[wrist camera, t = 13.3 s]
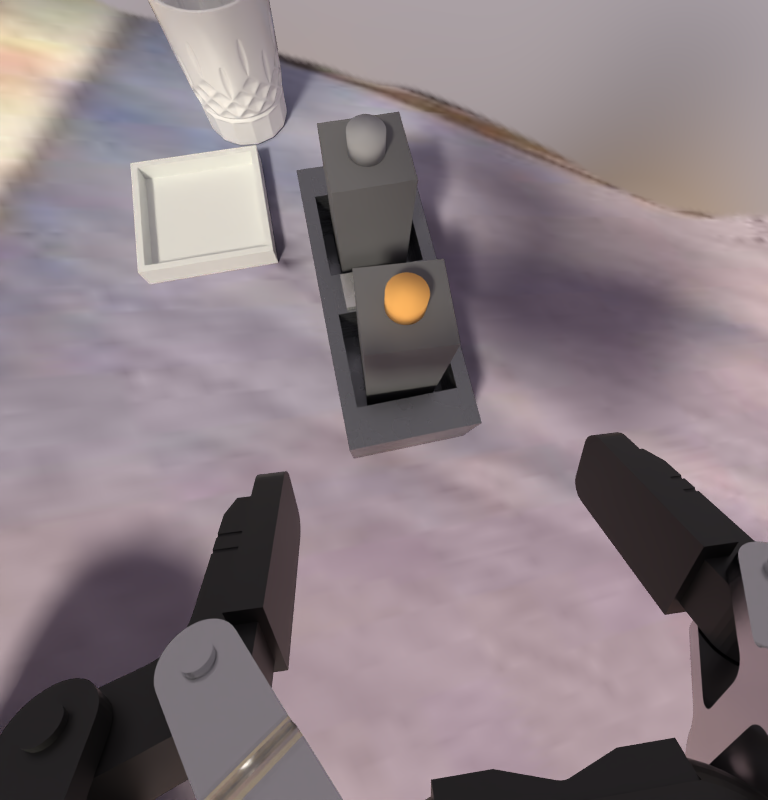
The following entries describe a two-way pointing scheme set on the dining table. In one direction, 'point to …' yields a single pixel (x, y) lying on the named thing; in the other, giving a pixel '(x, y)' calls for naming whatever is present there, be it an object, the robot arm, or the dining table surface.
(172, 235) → the tray
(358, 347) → the strip
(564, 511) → the dining table surface
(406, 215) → the twin plug
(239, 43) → the white cup
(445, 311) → the plug
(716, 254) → the dining table surface
